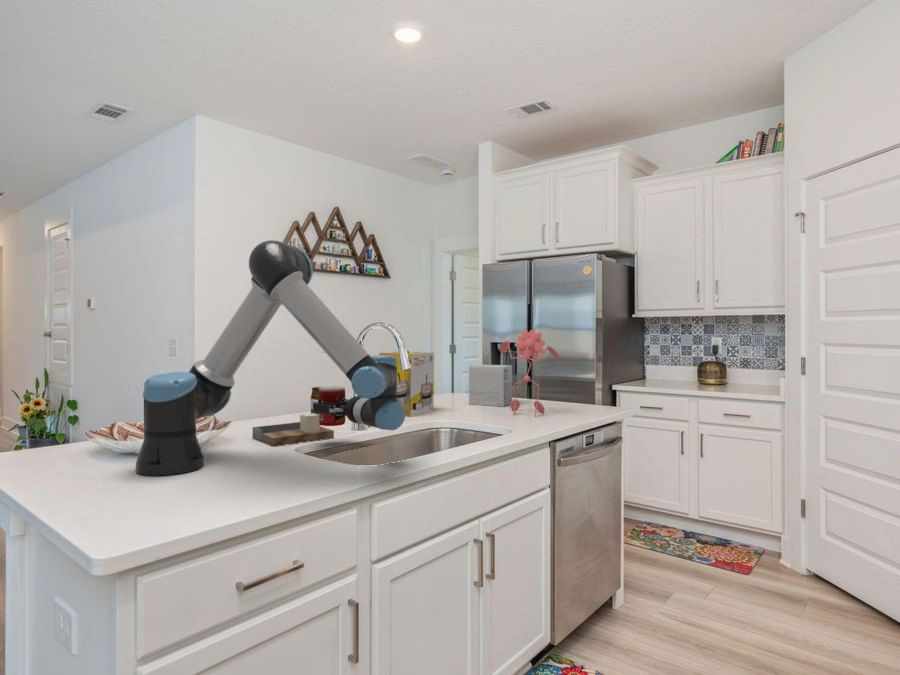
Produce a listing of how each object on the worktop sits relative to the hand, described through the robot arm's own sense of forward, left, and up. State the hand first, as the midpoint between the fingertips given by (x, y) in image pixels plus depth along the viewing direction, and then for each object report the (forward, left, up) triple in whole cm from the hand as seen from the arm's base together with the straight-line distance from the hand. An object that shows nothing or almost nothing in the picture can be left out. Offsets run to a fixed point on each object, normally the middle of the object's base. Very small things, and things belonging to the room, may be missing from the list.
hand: (324, 402), depth 173 cm
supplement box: (+101, +29, -12) cm, 106 cm away
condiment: (+19, +41, -12) cm, 47 cm away
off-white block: (-1, +7, -10) cm, 12 cm away
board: (-5, +7, -12) cm, 15 cm away
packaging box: (+55, +32, -12) cm, 65 cm away
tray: (-5, +15, -12) cm, 20 cm away
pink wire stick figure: (+93, -2, -12) cm, 94 cm away
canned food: (0, -5, -6) cm, 8 cm away
